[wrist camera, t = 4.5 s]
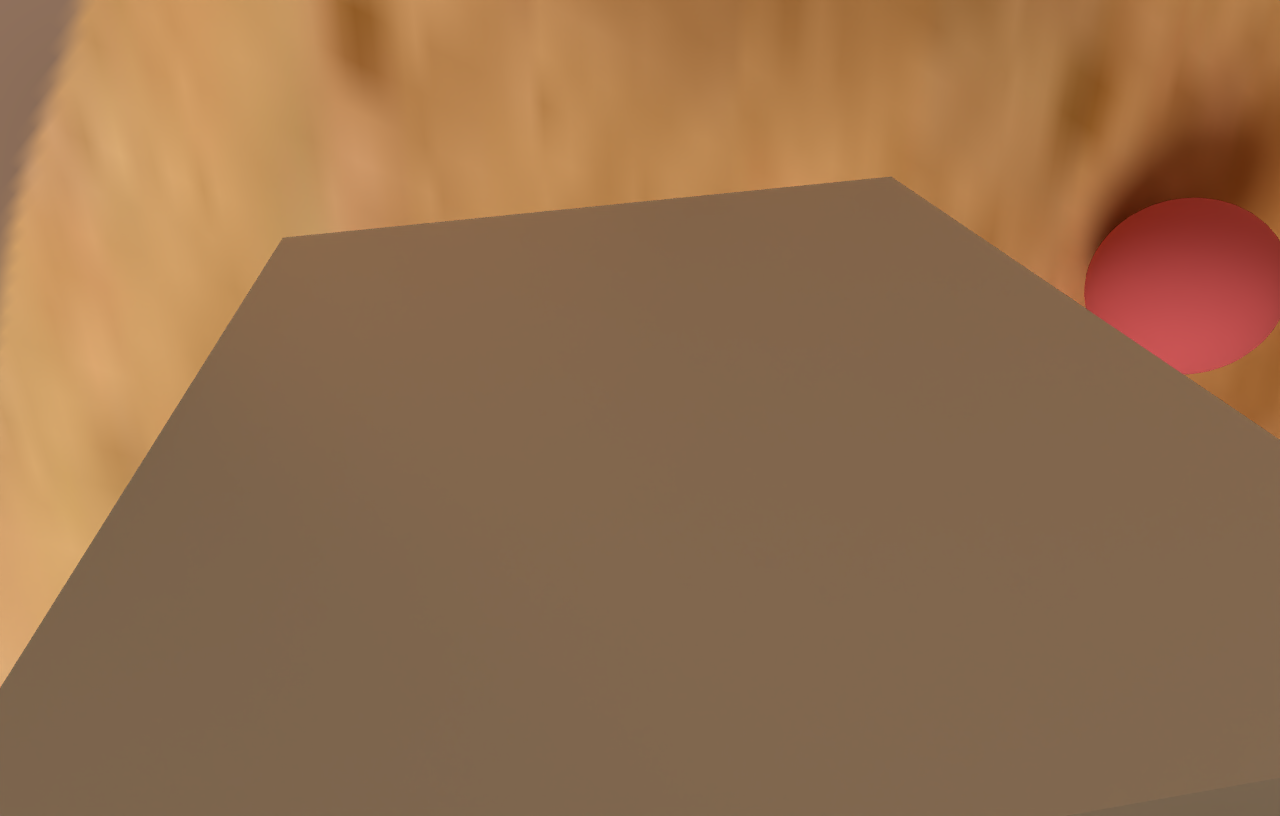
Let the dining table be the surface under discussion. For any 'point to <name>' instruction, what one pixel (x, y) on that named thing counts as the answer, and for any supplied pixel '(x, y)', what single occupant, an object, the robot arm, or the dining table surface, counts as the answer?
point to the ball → (1189, 282)
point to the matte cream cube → (670, 540)
